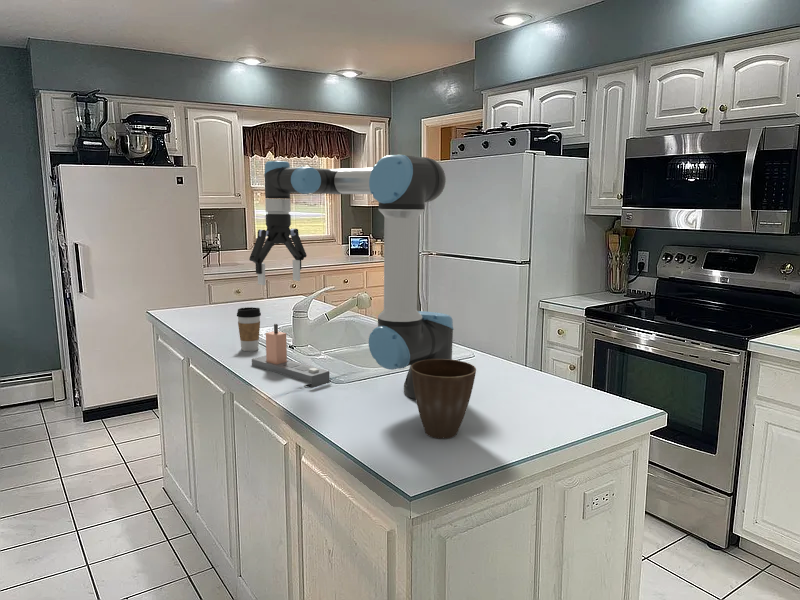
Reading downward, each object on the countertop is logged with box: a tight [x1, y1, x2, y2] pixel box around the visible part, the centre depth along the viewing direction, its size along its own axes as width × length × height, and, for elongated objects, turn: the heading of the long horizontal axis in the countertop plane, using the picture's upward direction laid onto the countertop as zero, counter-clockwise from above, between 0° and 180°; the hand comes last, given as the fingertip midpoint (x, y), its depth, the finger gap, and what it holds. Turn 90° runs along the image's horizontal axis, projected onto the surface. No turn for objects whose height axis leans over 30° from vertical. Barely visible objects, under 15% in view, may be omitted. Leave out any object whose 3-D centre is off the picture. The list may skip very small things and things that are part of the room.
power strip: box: [251, 355, 330, 389], centre depth 187 cm, size 28×7×4 cm, turn 50°
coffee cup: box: [236, 306, 262, 352], centre depth 218 cm, size 8×8×15 cm
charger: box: [265, 323, 288, 365], centre depth 190 cm, size 5×4×14 cm
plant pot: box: [411, 359, 477, 440], centre depth 142 cm, size 15×15×16 cm
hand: (279, 282), depth 189 cm, fingers open, 13 cm apart
